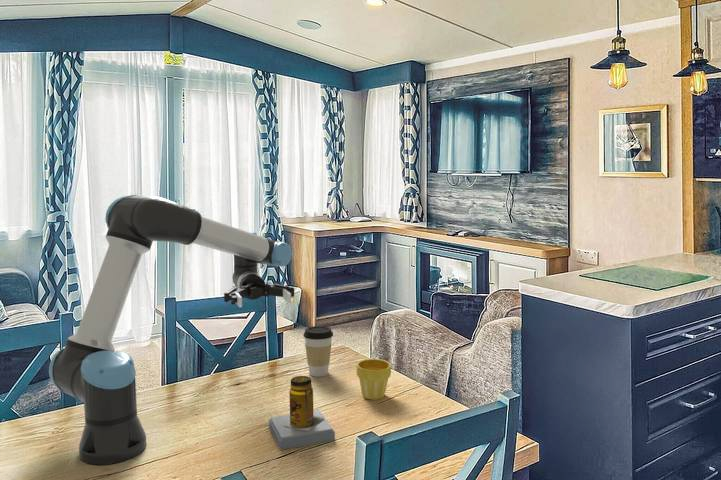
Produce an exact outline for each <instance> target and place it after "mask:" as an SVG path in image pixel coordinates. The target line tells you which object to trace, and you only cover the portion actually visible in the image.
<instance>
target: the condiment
mask: <svg viewBox="0 0 721 480" xmlns="http://www.w3.org/2000/svg"><path fill="white" fill-rule="evenodd" d="M312 386H313V385H312V378H310V377H309V376H307V375H298V376H294V377H292V378H291V379H290V389H289V391H288V392H289V414H290V421H289V422H288V423H287V424H285V425H283V426H287V427H290V428H294V429H299V430H305V431H309V430H310V429H311V428H312V427H314V426H315V425H316V424H317V423H318V422H320V421H321V420H322V419H323V418H324V417H325V416H324V417H317V416H314V414H313V411H314V389H313V387H312Z"/></svg>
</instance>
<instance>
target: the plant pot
mask: <svg viewBox="0 0 721 480" xmlns="http://www.w3.org/2000/svg"><path fill="white" fill-rule="evenodd" d="M391 375H392V364H391V363H390V362H389V361H387V360H384V359H380V358H379V359H378V358H367V359H363V360H362V359H361V360H359V361H358V362H357V363H356V376H357V377H358V380H359V384H360V385H359V386H360V390H361V395H362V397H363V398H364V399H367V400H372V401H373V400H375V401H376V400H381V399H383V398H384V397H385V395H386V390H387V386H388V380H389V378H390V377H391Z"/></svg>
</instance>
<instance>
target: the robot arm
mask: <svg viewBox="0 0 721 480" xmlns="http://www.w3.org/2000/svg"><path fill="white" fill-rule="evenodd" d="M105 224H106V227H107V232H106V234H105V239H106V241H107V244H108V247H107V250H106V253H105V255H104V258H103V261H102V264H101V266H100V269H99V271H98V275H97V277H96V280H95V282H94V286H93V288H92V291H91V293H90V296H89V299H88V301H87V304H86V307H85V310H84V313H83V315H82V318H81V321H80V322H79V325H78V328H77V331H76V333H74V334H72V335H70V336H68V338H67V340H66V343H65V346H64V347H62V348H61V349H60V350H57V352H56V353H55V354H54V355H53V356H52V358H51V360H50V362H49V367H48V375H49V379H50V381H51V384H53V385H54V387H55V388H57V389H58V390H59V391H60V392H61V393H63V394H65V395H67V396H68V395H69V396H71V397H72V398H75V399H77V400H79V401H81V402H83V408H84V427H83V430H82V434H81V438H80V441H79V445H78V455H79V456H80V457H79V459H80V458H81V459H80V460H81V461H82V460H83V461H84V462H83V461H82V462H83V463H86V462H87V463H86V464H89V463H90V465H95V464H105V465H111V463H113V464H117V462H118V463H120V462H125V461H127V460H130V459H132V458H135V457H136V456H138V455H139V454H140V453H143V451H144V450H145V448H146V447H147V434H146V432H145V429H144V427H143V424H142V422H141V421H140V418H139V416H138V409H137V405H138V404H137V402H138V401H137V388H136V387H137V386H136V376H137V373H136V372H137V371H136V368H135V361H134V359H133V358H132V356H131V355H130V354H128V353H126V352H124V351H120V350H116V348H115V346H114V344H113V343H112V341H113V337H114V335H115V332H116V329H117V326H118V324H119V321H120V318H121V315H122V313H123V310H124V306H125V304H126V300H127V298H128V296H129V292H130V290H131V287H132V284H133V281H134V279H135V275H136V273H137V269H138V267H139V264H140V261H141V258H142V256H143V255H144V254H145V253H148V252H149V251H150V250H151V248H152V244H153V242H169V243H175V244H181V245H185V246H190V245H192V244H195V245H197V246H198V245H199V246H202V247H206V248H209V249H213V250H215V251H220V252H223V253H227V254H231V255H233V273H232V283H233V284H234V285H233V286H231V288H230V289H228V290H227V291H225V292H223V298H224V299H223V301H224V303H228V302H230V304H231V305H237V306H238V308H239V309H240V308H242V307H243V299H247V300H251V301H256V300H258V299H260V298H261V297H272V296H273V297H278V298H279V297H280V298H282V299H283V300H284V301H285V302H286V303H287V304H292V298H295V287H293V286H289V285H283V284H282V285H281V284H278V283H277V282H274V283H272V285H271V284H267V283H266V282H265V281H264V279H263V278H262V277H261V276H260V275H259V274H258V264H259V265H260V264H261V265H262V264H263V265H268V266H273V267H275V268H276V267H286V266H287V265H288V264H289V263H290V261H291V259H292V255H293V253H292V248H291V245H289V243H287V242H283V241H280V240H272V239H269V238H267V237H264V236H261V235H258V234H257V233H256V231H246V230H243V229H240V228H237V227H234V226H231V225H228V224H225V223H223V222H219V221H216V220H213V219H210V218H207V217H203V215H202V214H201V213H200V212H199V211H198V210H195V209H192V208H190V207H187V206H185V205H183V204H180V203H177V202H175V201H172V200H169V199H167V198H165V197H161V196H149V195H148V196H147V195H139V194H129V195H124V196H120V197H119V198H117V199H115V200H113V202H111V203H110V205H109V206H108V207H107V209H106V213H105ZM115 350H116V351H115Z"/></svg>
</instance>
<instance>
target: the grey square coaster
mask: <svg viewBox="0 0 721 480" xmlns="http://www.w3.org/2000/svg"><path fill="white" fill-rule="evenodd" d="M313 414H314V416H317V417H324V418H323V419H322V420H321V421H320V422H318V423H317V424H316V425H315V426H314V427H312V428H311V429H310V430H309V431H305V430H299V429H294V428H290V427H287V426H283V425H285V424H287V423H288V422H289V421H290V413H289V414H283V415H276V416H271V417H270V418H268V429H269V430H270V432H271V433H270V434H271V435H272V436H273V438H274V441H275V442H276V444H277V446H278V448H279V450H280V451H283V450H288V449H289V450H290V449H294V448H300V447H305V446H309V445H316V444H322V443H327V442H333V441H335V440H336V434H335V433H336V431H335V430H334V428H333V427H332V425H331V424H330V423H329V421H328V420H327V419H326V417H325V416H324V415H323V413H322V412H321V411H320V409H313Z"/></svg>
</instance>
